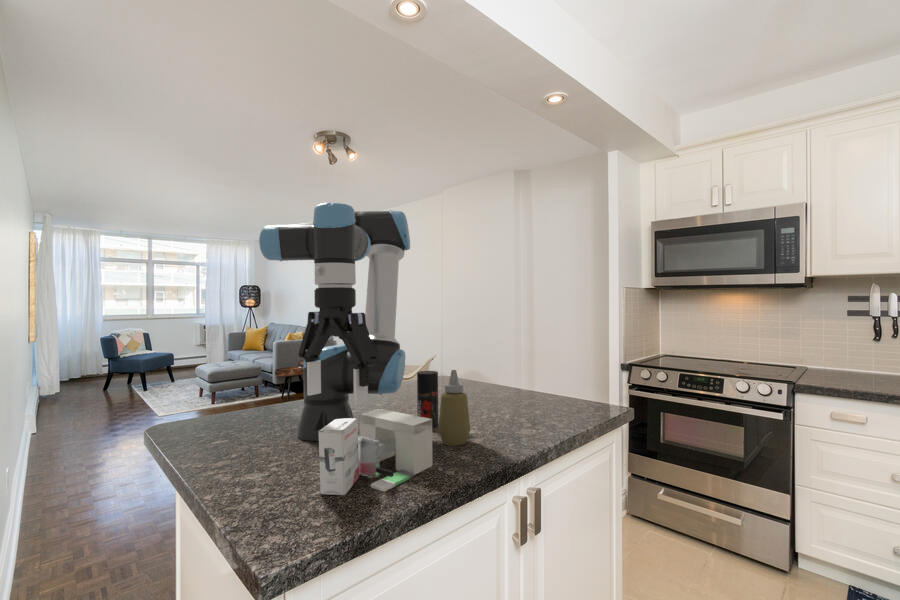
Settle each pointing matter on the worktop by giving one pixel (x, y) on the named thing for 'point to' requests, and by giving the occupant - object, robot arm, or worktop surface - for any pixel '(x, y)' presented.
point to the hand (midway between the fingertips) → (336, 399)
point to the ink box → (338, 456)
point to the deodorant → (427, 395)
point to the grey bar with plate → (373, 455)
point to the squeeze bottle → (454, 413)
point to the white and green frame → (400, 443)
